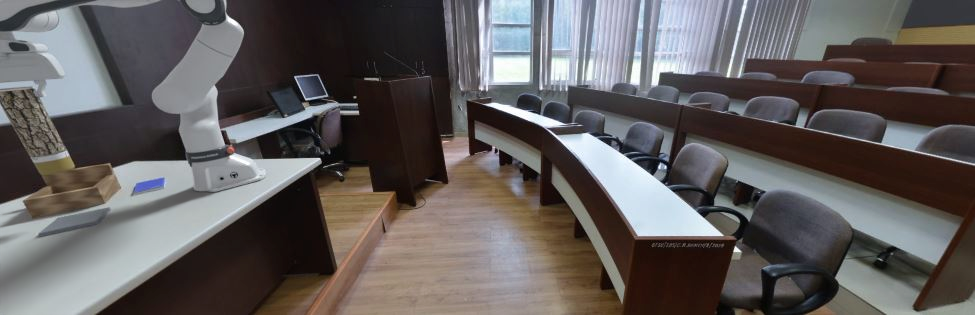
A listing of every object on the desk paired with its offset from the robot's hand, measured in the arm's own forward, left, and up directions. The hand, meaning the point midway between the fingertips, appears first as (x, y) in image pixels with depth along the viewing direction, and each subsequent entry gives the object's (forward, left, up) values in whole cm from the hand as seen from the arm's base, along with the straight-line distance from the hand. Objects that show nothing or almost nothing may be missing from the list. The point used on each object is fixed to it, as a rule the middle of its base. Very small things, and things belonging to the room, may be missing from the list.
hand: (19, 99), depth 90 cm
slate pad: (-2, +7, -37) cm, 37 cm away
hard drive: (-13, -17, -37) cm, 43 cm away
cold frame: (+4, -15, -37) cm, 40 cm away
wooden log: (0, 0, -22) cm, 22 cm away
